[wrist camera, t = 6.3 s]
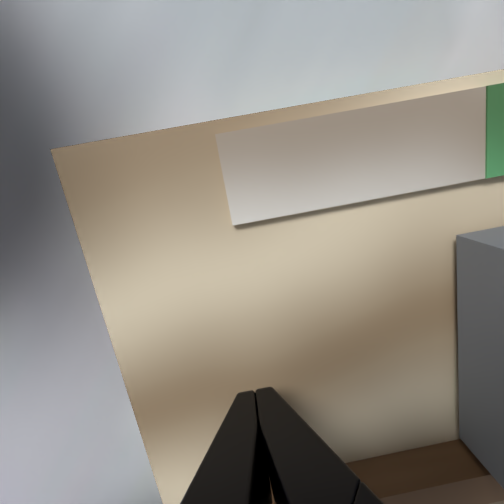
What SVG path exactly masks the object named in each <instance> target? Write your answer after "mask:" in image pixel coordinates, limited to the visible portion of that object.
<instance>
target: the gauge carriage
mask: <svg viewBox="0 0 504 504" xmlns="http://www.w3.org/2000/svg"><path fill="white" fill-rule="evenodd" d="M456 251H457V318H458V384H459V438H460V439H461V440H462V441H463V442H464V443H465V445H466V446H467V447H468V448H469V449H470V450H471V452H472V453H473V454H474V455H475V456H476V457H477V459H478V460H479V461H480V462H481V463H482V464H483V466H484V467H485V468H486V469H487V470H488V471H489V473H490V474H491V475H492V476H493V477H494V478H495V480H496V481H497V482H498V483H499V484H500V485H501V487H502V488H503V489H504V226H501V227H495V228H490V229H485V230H480V231H474V232H469V233H464V234H459V235H456Z"/></svg>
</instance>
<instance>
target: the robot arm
mask: <svg viewBox="0 0 504 504" xmlns="http://www.w3.org/2000/svg"><path fill="white" fill-rule="evenodd" d="M270 483H271V484H270ZM271 488H272V492H271ZM272 493H273V498H274V502H275V504H384V503H383V502H382V501H381V500H380V499H379V498H378V497H377V496H376V495H375V494H374V493H373V492H372V491H371V490H370V489H369V487H368V486H367V485H366V484H365V483H364V482H361V480H360V478H359V477H358V476H357V475H356V474H355V473H354V472H353V471H352V470H351V469H350V468H349V467H348V466H347V465H346V464H345V463H344V462H343V460H342V459H341V458H340V457H339V456H338V455H337V454H336V453H335V452H334V451H333V450H332V449H331V448H330V447H329V446H328V445H327V444H326V443H325V442H324V441H323V440H322V438H321V437H320V436H319V435H318V434H317V433H316V432H315V431H314V430H313V429H312V428H311V427H310V426H309V425H308V424H307V423H306V422H305V421H304V420H303V419H302V417H301V416H300V415H299V414H298V413H297V412H296V411H295V410H294V409H293V408H292V407H291V406H290V405H289V404H288V403H287V402H286V401H285V400H284V399H283V398H282V397H281V395H280V394H279V393H278V392H277V391H276V390H275V389H274V388H273V387H264V388H259V389H257V390H256V391H255V392H254V391H253V390H249V391H244V392H239V393H238V394H237V395H236V397H235V399H234V401H233V403H232V404H231V406H230V408H229V410H228V412H227V414H226V416H225V418H224V420H223V422H222V424H221V426H220V428H219V430H218V431H217V433H216V435H215V437H214V439H213V441H212V443H211V445H210V447H209V449H208V451H207V453H206V455H205V457H204V458H203V460H202V462H201V464H200V466H199V468H198V470H197V472H196V474H195V476H194V478H193V480H192V482H191V483H190V485H189V487H188V489H187V491H186V493H185V495H184V497H183V499H182V501H181V503H180V504H272Z"/></svg>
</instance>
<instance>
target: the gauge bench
mask: <svg viewBox="0 0 504 504" xmlns="http://www.w3.org/2000/svg"><path fill="white" fill-rule="evenodd" d="M50 150H51V153H52V156H53V160H54V163H55V166H56V169H57V172H58V175H59V178H60V182H61V185H62V188H63V191H64V194H65V197H66V200H67V204H68V207H69V210H70V213H71V216H72V219H73V222H74V226H75V229H76V232H77V235H78V238H79V241H80V244H81V248H82V251H83V254H84V257H85V260H86V263H87V266H88V270H89V273H90V276H91V279H92V282H93V285H94V289H95V292H96V295H97V298H98V301H99V304H100V307H101V311H102V314H103V317H104V320H105V323H106V326H107V329H108V333H109V336H110V339H111V342H112V345H113V348H114V351H115V355H116V358H117V361H118V364H119V367H120V370H121V373H122V377H123V380H124V383H125V386H126V389H127V392H128V395H129V399H130V402H131V405H132V408H133V411H134V414H135V417H136V421H137V424H138V427H139V430H140V433H141V436H142V440H143V443H144V446H145V449H146V452H147V455H148V458H149V462H150V465H151V468H152V471H153V474H154V477H155V480H156V484H157V487H158V490H159V493H160V496H161V499H162V502H163V504H180V503H181V501H182V499H183V497H184V495H185V493H186V491H187V489H188V487H189V485H190V483H191V482H192V480H193V478H194V476H195V474H196V472H197V470H198V468H199V466H200V464H201V462H202V460H203V458H204V457H205V455H206V453H207V451H208V449H209V447H210V445H211V443H212V441H213V439H214V437H215V435H216V433H217V431H218V430H219V428H220V426H221V424H222V422H223V420H224V418H225V416H226V414H227V412H228V410H229V408H230V406H231V404H232V403H233V401H234V399H235V397H236V395H237V394H238V393H239V392H244V391H249V390H253V391H254V392H255V391H256V390H257V389H259V388H264V387H273V388H274V389H275V390H276V391H277V392H278V393H279V394H280V395H281V397H282V398H283V399H284V400H285V401H286V402H287V403H288V404H289V405H290V406H291V407H292V408H293V409H294V410H295V411H296V412H297V413H298V414H299V415H300V416H301V417H302V419H303V420H304V421H305V422H306V423H307V424H308V425H309V426H310V427H311V428H312V429H313V430H314V431H315V432H316V433H317V434H318V435H319V436H320V437H321V438H322V440H323V441H324V442H325V443H326V444H327V445H328V446H329V447H330V448H331V449H332V450H333V451H334V452H335V453H336V454H337V455H338V456H339V457H340V458H341V459H342V460H343V462H344V463H345V464H346V465H347V466H348V467H349V468H350V469H351V470H352V471H353V472H354V473H355V474H356V475H357V476H358V477H359V478H360V480H361V482H364V483H365V484H366V485H367V486H368V487H369V489H370V490H371V491H372V492H373V493H374V494H375V495H376V496H377V497H378V498H379V499H380V500H381V501H382V502H383V503H384V504H504V489H503V488H502V487H501V485H500V484H499V483H498V482H497V481H496V480H495V478H494V477H493V476H492V475H491V474H490V473H489V471H488V470H487V469H486V468H485V467H484V466H483V464H482V463H481V462H480V461H479V460H478V459H477V457H476V456H475V455H474V454H473V453H472V452H471V450H470V449H469V448H468V447H467V446H466V445H465V443H464V442H463V441H462V440H461V439H460V438H459V384H458V318H457V251H456V235H459V234H464V233H469V232H474V231H480V230H485V229H490V228H495V227H501V226H504V69H502V70H497V71H491V72H485V73H480V74H474V75H468V76H463V77H457V78H451V79H446V80H440V81H434V82H429V83H423V84H417V85H412V86H406V87H400V88H395V89H389V90H383V91H378V92H372V93H366V94H361V95H355V96H349V97H344V98H338V99H332V100H327V101H321V102H315V103H310V104H304V105H298V106H293V107H287V108H281V109H276V110H270V111H264V112H259V113H253V114H247V115H242V116H236V117H230V118H225V119H219V120H213V121H208V122H202V123H196V124H191V125H185V126H179V127H174V128H168V129H162V130H157V131H151V132H145V133H140V134H134V135H128V136H123V137H117V138H111V139H106V140H100V141H94V142H89V143H83V144H77V145H72V146H66V147H60V148H55V149H50ZM270 484H271V483H270ZM271 492H272V488H271ZM272 504H275V502H274V498H273V493H272Z"/></svg>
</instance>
